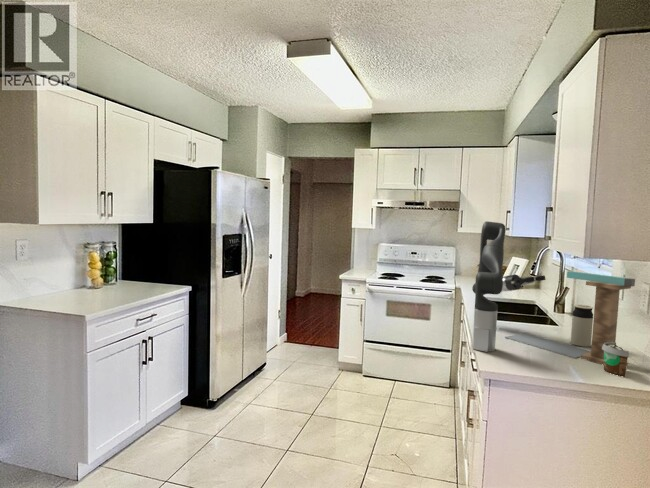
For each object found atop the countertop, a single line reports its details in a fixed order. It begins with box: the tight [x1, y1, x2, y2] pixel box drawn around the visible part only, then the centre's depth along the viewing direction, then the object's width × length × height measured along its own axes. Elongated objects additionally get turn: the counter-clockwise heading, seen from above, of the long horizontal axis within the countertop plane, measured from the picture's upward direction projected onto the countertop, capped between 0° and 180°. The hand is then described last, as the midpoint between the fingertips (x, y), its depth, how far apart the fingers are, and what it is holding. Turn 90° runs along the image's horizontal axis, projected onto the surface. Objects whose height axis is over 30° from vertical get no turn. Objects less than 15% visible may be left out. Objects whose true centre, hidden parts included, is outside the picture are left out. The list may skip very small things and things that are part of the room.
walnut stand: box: [580, 280, 632, 366], centre depth 164 cm, size 12×11×32 cm
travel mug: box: [570, 303, 594, 348], centre depth 186 cm, size 8×8×18 cm
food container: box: [602, 341, 630, 378], centre depth 153 cm, size 12×6×10 cm, turn 163°
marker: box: [566, 270, 636, 288], centre depth 166 cm, size 24×3×3 cm, turn 32°
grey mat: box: [504, 332, 591, 359], centre depth 184 cm, size 32×16×1 cm, turn 32°
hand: (539, 278), depth 188 cm, fingers open, 8 cm apart
